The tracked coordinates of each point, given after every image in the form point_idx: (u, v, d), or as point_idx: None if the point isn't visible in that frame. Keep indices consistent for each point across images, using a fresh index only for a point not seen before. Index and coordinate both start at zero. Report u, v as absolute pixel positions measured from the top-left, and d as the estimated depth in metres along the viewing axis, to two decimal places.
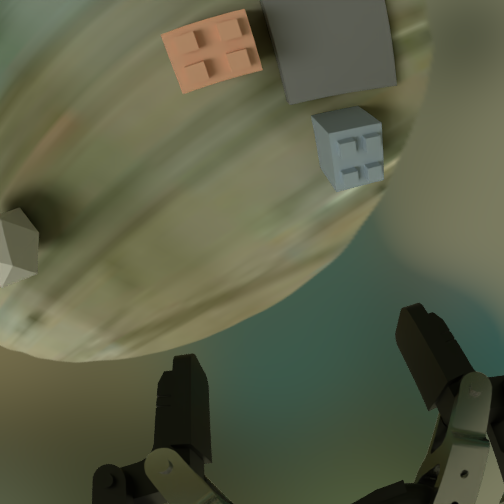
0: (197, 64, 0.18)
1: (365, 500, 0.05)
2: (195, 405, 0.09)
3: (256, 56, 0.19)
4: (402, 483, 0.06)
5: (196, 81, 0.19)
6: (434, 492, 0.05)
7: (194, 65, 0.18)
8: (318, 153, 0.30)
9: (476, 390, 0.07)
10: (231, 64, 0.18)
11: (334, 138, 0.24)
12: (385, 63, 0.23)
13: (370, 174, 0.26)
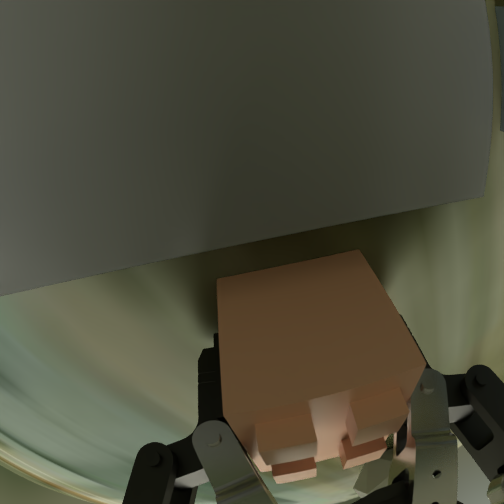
0: (347, 462, 0.08)
1: (365, 501, 0.05)
2: None
3: (384, 381, 0.06)
4: (402, 483, 0.06)
5: (378, 455, 0.08)
6: None
7: (347, 464, 0.08)
8: None
9: (428, 388, 0.07)
10: (381, 436, 0.07)
11: None
12: None
13: None
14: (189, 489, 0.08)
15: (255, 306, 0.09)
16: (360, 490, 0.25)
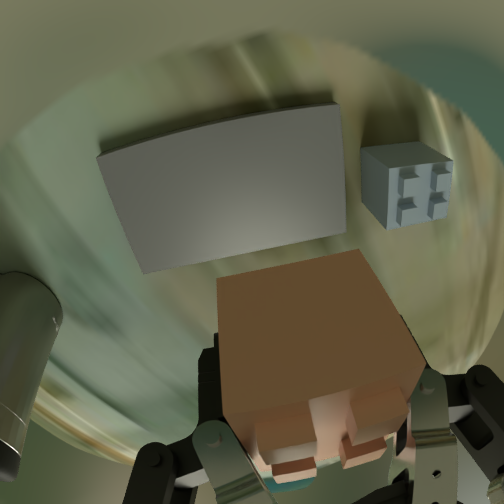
0: (347, 461, 0.08)
1: (365, 500, 0.05)
2: None
3: (384, 381, 0.06)
4: (402, 483, 0.06)
5: (378, 455, 0.08)
6: None
7: (347, 463, 0.08)
8: None
9: (428, 388, 0.07)
10: (380, 435, 0.07)
11: (393, 224, 0.22)
12: (309, 121, 0.20)
13: (442, 188, 0.19)
14: (189, 489, 0.08)
15: (255, 306, 0.09)
16: None
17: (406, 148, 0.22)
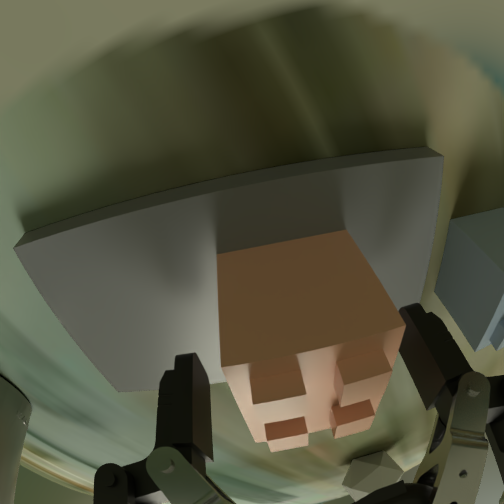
0: (338, 429, 0.09)
1: (365, 500, 0.05)
2: (196, 404, 0.09)
3: (367, 339, 0.08)
4: (402, 483, 0.06)
5: (368, 425, 0.10)
6: (434, 492, 0.05)
7: (337, 431, 0.09)
8: None
9: (474, 390, 0.07)
10: (367, 397, 0.08)
11: (485, 343, 0.12)
12: (394, 185, 0.11)
13: None
14: None
15: (250, 276, 0.10)
16: (346, 485, 0.33)
17: None
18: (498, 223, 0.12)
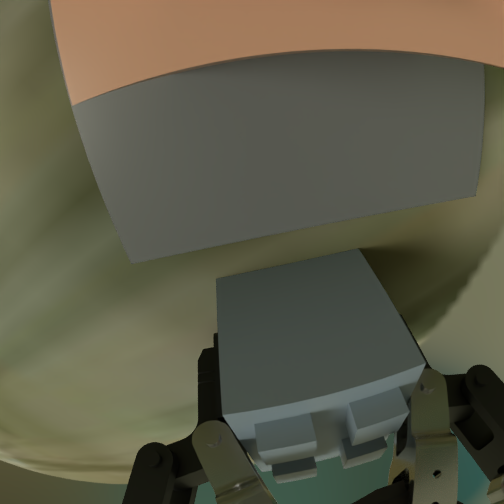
0: None
1: (365, 501, 0.05)
2: None
3: None
4: (402, 483, 0.06)
5: None
6: None
7: None
8: None
9: (429, 387, 0.07)
10: None
11: (244, 421, 0.07)
12: (462, 126, 0.07)
13: (351, 462, 0.08)
14: (189, 489, 0.08)
15: None
16: None
17: None
18: None
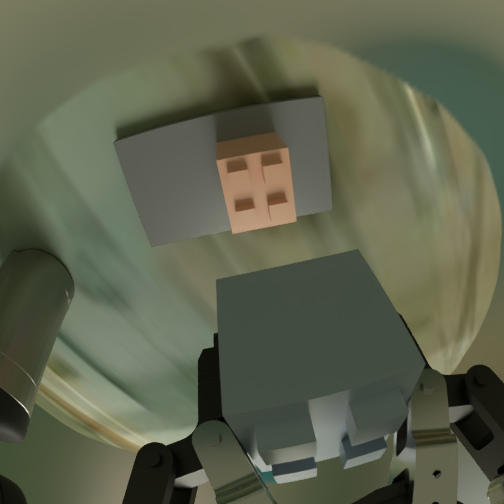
0: (270, 210, 0.22)
1: (365, 501, 0.05)
2: None
3: (272, 152, 0.21)
4: (402, 483, 0.06)
5: (287, 213, 0.23)
6: None
7: (271, 213, 0.23)
8: None
9: (429, 388, 0.07)
10: (277, 181, 0.21)
11: (244, 422, 0.07)
12: (296, 111, 0.24)
13: (351, 463, 0.08)
14: (189, 489, 0.08)
15: (230, 144, 0.23)
16: None
17: None
18: None
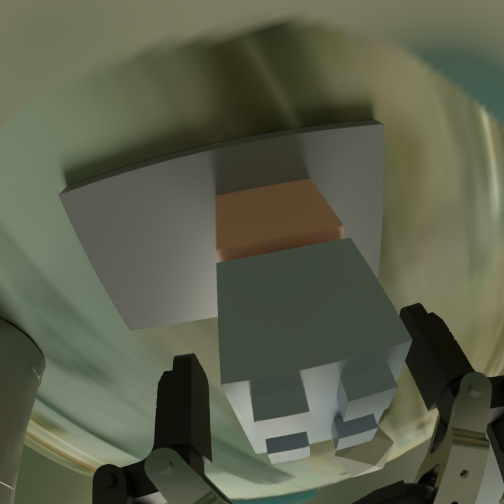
0: None
1: (365, 501, 0.05)
2: (195, 405, 0.09)
3: (316, 234, 0.12)
4: (402, 483, 0.06)
5: None
6: (434, 492, 0.05)
7: None
8: None
9: (476, 390, 0.07)
10: None
11: (241, 392, 0.07)
12: (344, 146, 0.15)
13: (343, 443, 0.09)
14: None
15: (239, 205, 0.15)
16: (339, 455, 0.37)
17: None
18: None
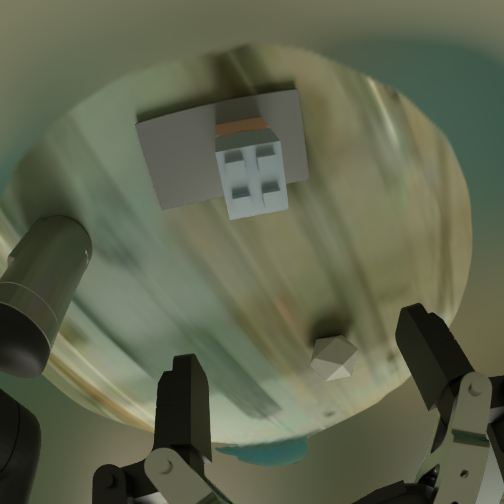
0: None
1: (365, 501, 0.05)
2: (195, 405, 0.09)
3: (256, 129, 0.28)
4: (402, 483, 0.06)
5: None
6: (434, 492, 0.05)
7: None
8: None
9: (476, 390, 0.07)
10: None
11: (221, 158, 0.23)
12: (277, 100, 0.31)
13: (266, 200, 0.25)
14: None
15: (226, 126, 0.30)
16: (312, 360, 0.53)
17: None
18: None
